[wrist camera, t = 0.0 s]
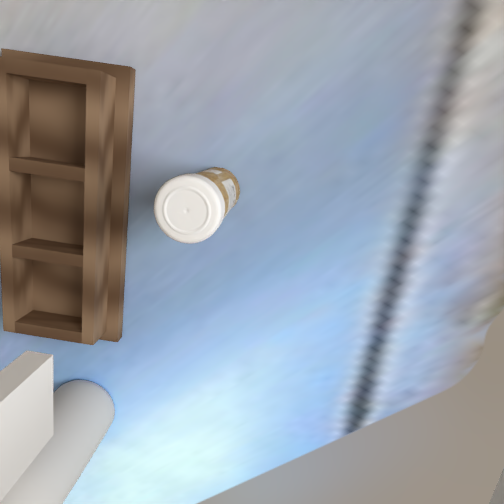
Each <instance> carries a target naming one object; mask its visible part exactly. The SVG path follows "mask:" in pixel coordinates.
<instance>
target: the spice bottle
mask: <svg viewBox="0 0 504 504" xmlns="http://www.w3.org/2000/svg"><path fill="white" fill-rule="evenodd" d="M239 194H240V188H239V184H238V181H237V179H236V177H235V176H234V175H233V174H232V173H231V172H230V171H228V170H226V169H224V168H217V167H214V168H210V169H207V170H205V171H202V172H199V173H195V174H183V175H179V176H177V177H174V178H172V179H170V180H168V181H167V182H166V183H164V184H163V185H162V186H161V188H160V189H159V191H158V193H157V195H156V197H155V201H154V214H155V218H156V221H157V223H158V225H159V227H160V228H161V229H162V231H163V232H164V233H165V234H166V235H167V236H169V237H170V238H172V239H173V240H176V241H178V242H182V243H198V242H201V241H203V240H205V239H207V238H208V237H210V236H211V235H212V234H213V233H214V232H215V231H216V230H217V229H218V227H219V226H220V224H221V223H222V221H223V219H224V217H225V216H226V215H227V213H228V212H229V211H230V209H231V208H232V207H233V206H234V205H235V204H236V202H237V200H238V198H239Z"/></svg>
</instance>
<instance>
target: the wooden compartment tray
mask: <svg viewBox="0 0 504 504" xmlns="http://www.w3.org/2000/svg"><path fill="white" fill-rule="evenodd" d="M1 50H2V57H1V56H0V262H1V284H2V307H3V329H4V331H8V332H15V333H21V334H27V335H33V336H39V337H46V338H52V339H58V340H64V341H70V342H77V343H83V344H89V345H94V344H95V343H96V342H97V341H98V340H99V339H101V340H107V341H113V342H118V341H119V340H120V338H121V337H122V323H123V303H124V284H125V264H126V245H127V225H128V206H129V186H130V166H131V147H132V127H133V108H134V88H135V69H133V68H132V67H128V66H121V65H114V64H107V63H100V62H93V61H86V60H79V59H72V58H65V57H58V56H51V55H44V54H37V53H30V52H23V51H16V50H9V49H2V48H1Z"/></svg>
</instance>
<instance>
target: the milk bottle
mask: <svg viewBox="0 0 504 504" xmlns="http://www.w3.org/2000/svg"><path fill="white" fill-rule="evenodd" d="M114 415H115V408H114V403H113V400H112V398H111V396H110V395H109V394H108V392H107V391H106V390H105V389H104V388H102V387H101V386H100V385H98V384H96V383H94V382H91V381H87V380H73V381H70V382H67V383H65V384H63V385H61V386H60V387H59V388H58V389H57V390H56V391H55V392H54V393H53V431H54V435H53V436H52V437H51V439H50V440H49V441H48V442H47V444H46V445H45V446H44V447H43V449H42V450H41V451H40V453H39V454H38V455H37V456H36V458H35V459H34V460H33V461H32V463H31V464H30V465H29V466H28V468H27V469H26V470H25V472H24V473H23V474H22V475H21V477H20V478H19V479H18V480H17V482H16V483H15V484H14V485H13V487H12V488H11V489H10V491H9V492H8V493H7V494H6V496H5V497H4V498H3V499H2V501H1V502H0V504H62V503H63V502H64V500H65V499H66V497H67V496H68V494H69V493H70V491H71V490H72V488H73V486H74V485H75V483H76V482H77V480H78V478H79V477H80V475H81V473H82V472H83V470H84V469H85V467H86V465H87V464H88V462H89V461H90V459H91V457H92V456H93V454H94V452H95V451H96V449H97V447H98V446H99V444H100V442H101V441H102V439H103V437H104V436H105V434H106V432H107V431H108V429H109V427H110V426H111V424H112V422H113V419H114Z"/></svg>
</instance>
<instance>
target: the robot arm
mask: <svg viewBox="0 0 504 504" xmlns="http://www.w3.org/2000/svg"><path fill="white" fill-rule="evenodd" d="M53 435H54V431H53V355H51V354H45V353H39V352H32V351H26V352H24V353H23V354H22V355H20V356H19V357H18V358H17V359H15V360H14V361H13V362H12V363H10V364H9V365H8V366H7V367H5V368H4V369H3V370H2V371H0V502H1V501H2V499H3V498H4V497H5V496H6V494H7V493H8V492H9V491H10V489H11V488H12V487H13V485H14V484H15V483H16V482H17V480H18V479H19V478H20V477H21V475H22V474H23V473H24V472H25V470H26V469H27V468H28V466H29V465H30V464H31V463H32V461H33V460H34V459H35V458H36V456H37V455H38V454H39V453H40V451H41V450H42V449H43V447H44V446H45V445H46V444H47V442H48V441H49V440H50V439H51V437H52V436H53ZM489 504H504V469H503V471H502V474H501V476H500V479H499V481H498V484H497V486H496V489H495V491H494V493H493V496H492V498H491V501H490V503H489Z"/></svg>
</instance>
